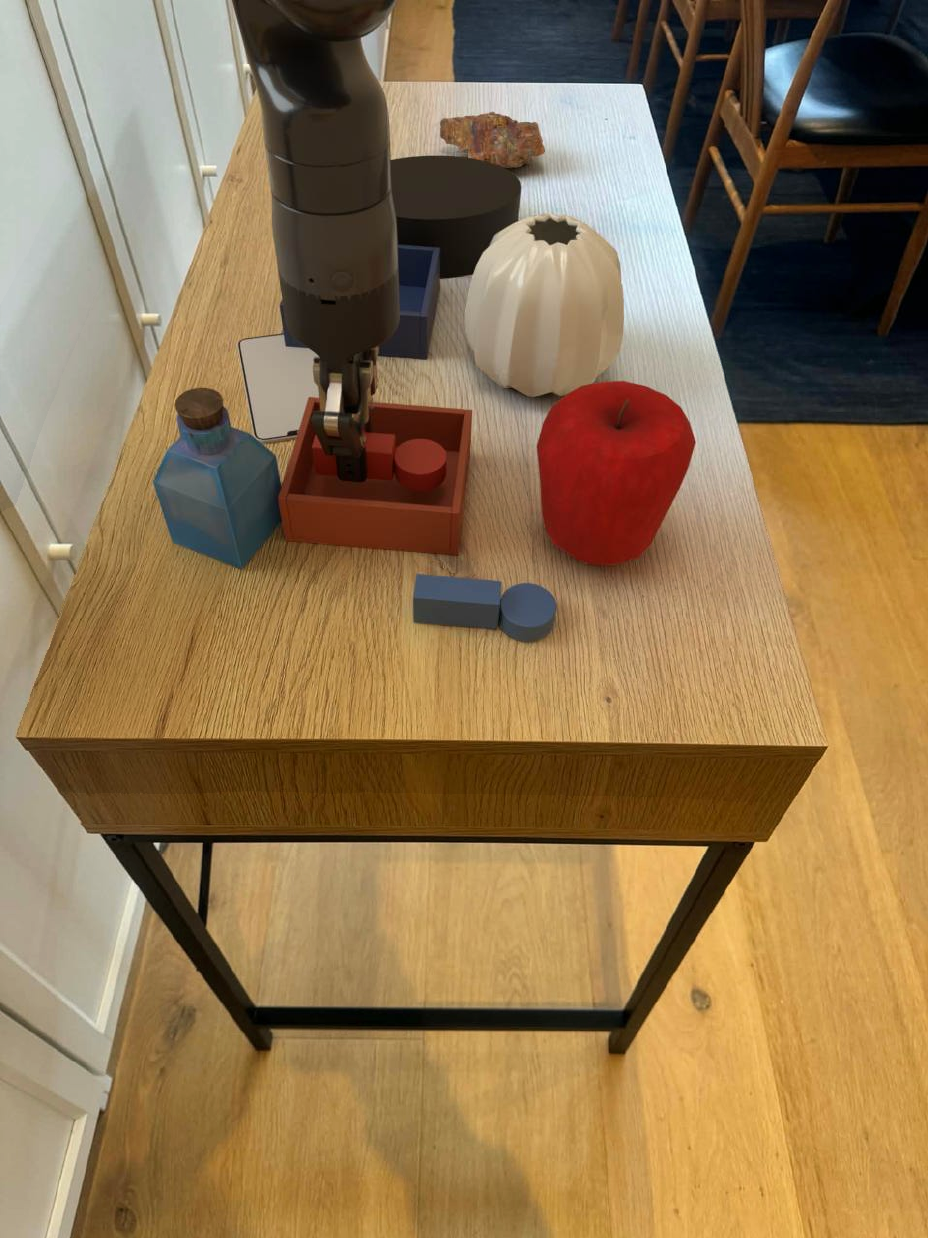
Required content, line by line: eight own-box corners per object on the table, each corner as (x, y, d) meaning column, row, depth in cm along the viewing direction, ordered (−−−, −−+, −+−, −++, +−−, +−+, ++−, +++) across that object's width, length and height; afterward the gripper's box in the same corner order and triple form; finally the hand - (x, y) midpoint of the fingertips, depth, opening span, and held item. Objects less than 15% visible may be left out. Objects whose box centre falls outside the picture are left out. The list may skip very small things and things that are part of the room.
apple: (652, 493, 72) (691, 350, 62) (673, 590, 66) (720, 450, 55) (522, 492, 72) (539, 348, 61) (531, 590, 66) (551, 448, 55)
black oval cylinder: (522, 286, 92) (534, 215, 87) (347, 279, 90) (347, 205, 84) (504, 219, 101) (513, 150, 96) (345, 211, 99) (345, 140, 93)
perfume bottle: (286, 516, 69) (264, 389, 60) (241, 569, 66) (210, 444, 56) (219, 491, 71) (187, 363, 61) (172, 542, 67) (130, 415, 58)
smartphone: (314, 328, 84) (342, 429, 75) (315, 334, 85) (343, 435, 76) (235, 338, 83) (254, 442, 74) (236, 345, 84) (255, 448, 75)
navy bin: (285, 348, 83) (279, 305, 79) (309, 279, 90) (304, 237, 86) (426, 359, 82) (426, 316, 79) (439, 289, 90) (440, 247, 86)
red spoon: (313, 483, 68) (309, 455, 66) (322, 448, 71) (319, 420, 68) (443, 493, 68) (444, 465, 66) (448, 458, 70) (449, 430, 68)
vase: (457, 327, 86) (461, 188, 75) (599, 323, 87) (623, 186, 76) (471, 420, 77) (477, 278, 67) (628, 414, 78) (659, 274, 68)
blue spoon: (411, 632, 63) (411, 607, 61) (418, 589, 65) (417, 563, 63) (553, 644, 62) (557, 620, 60) (554, 601, 65) (558, 575, 63)
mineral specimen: (446, 168, 102) (443, 101, 99) (440, 176, 109) (438, 113, 107) (549, 165, 103) (549, 98, 100) (537, 173, 110) (537, 111, 108)
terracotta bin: (285, 541, 68) (277, 498, 64) (314, 439, 75) (308, 396, 71) (458, 555, 67) (459, 513, 64) (470, 452, 75) (472, 409, 71)
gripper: (300, 198, 60) (324, 406, 73) (252, 317, 51) (289, 526, 65) (411, 206, 60) (414, 413, 73) (381, 326, 51) (392, 535, 65)
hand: (355, 465), depth 69 cm, fingers closed on red spoon, 2 cm apart
